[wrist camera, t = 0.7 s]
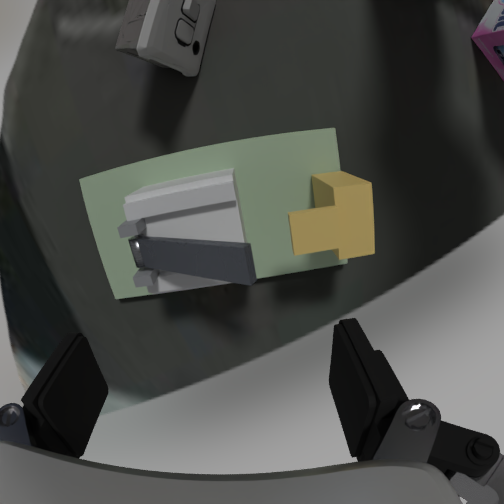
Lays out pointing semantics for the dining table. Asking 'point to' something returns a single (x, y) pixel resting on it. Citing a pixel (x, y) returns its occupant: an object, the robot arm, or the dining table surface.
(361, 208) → the clip
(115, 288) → the board
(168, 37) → the electrical switch
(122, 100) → the dining table surface
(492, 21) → the gum box
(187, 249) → the lever
